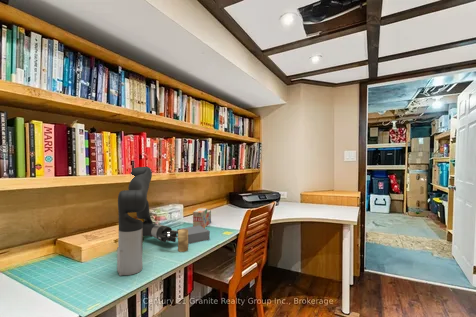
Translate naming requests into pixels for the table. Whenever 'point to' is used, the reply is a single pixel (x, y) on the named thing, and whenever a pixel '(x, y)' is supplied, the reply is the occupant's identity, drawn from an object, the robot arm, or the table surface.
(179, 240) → the cylinder
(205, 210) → the printed cardboard box
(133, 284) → the table surface
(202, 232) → the plinth
